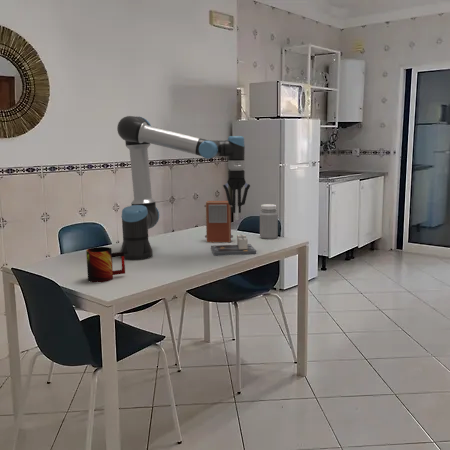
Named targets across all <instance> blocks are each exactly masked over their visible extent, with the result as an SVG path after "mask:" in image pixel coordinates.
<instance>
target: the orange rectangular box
mask: <svg viewBox="0 0 450 450" xmlns="http://www.w3.org/2000/svg"><path fill="white" fill-rule="evenodd" d="M204 208H205V224H206V225H205V226H206V227H205V228H206V229H205V230H206V231H205V233H206V234H205V235H204V238H206V243H231V242H232V238H233V237H234V235H232V221H231V220H232V219H231V218H232V217H231V216H232V215H231V214H232V205H229V203H228V200H207V201H205V204H204Z"/></svg>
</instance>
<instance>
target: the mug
mask: <svg viewBox="0 0 450 450" xmlns="http://www.w3.org/2000/svg"><path fill="white" fill-rule="evenodd" d="M112 250H113V249H112V248H111V247H108V246H97V247H91V248H90V247H89V248H87V249H86V250H85V254H86V266H87V268H86V269H87V281H88V282H89V281H90V282H89V283H94V282H101V283H106V282H110V281H112V280H114V276H116V275H117V276H118V275H125V274H126V267H125V266H126V265H125V259H124V252H119V251H118V252H113V251H112ZM120 257H121V258H120ZM113 258H120V259H121V269H117V270H116V269H115V270H113Z"/></svg>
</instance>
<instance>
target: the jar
mask: <svg viewBox="0 0 450 450" xmlns="http://www.w3.org/2000/svg"><path fill="white" fill-rule="evenodd" d="M278 215H279V213H278V212H277V205H276V204H272V203H267V204H266V203H263V204H260V213H259V236H260V238H261V239H262V238H264V239H263V240H274V239H277V238H278V235H279V232H278V229H279V226H278V225H279V224H278V223H279V221H278V220H279V219H278Z"/></svg>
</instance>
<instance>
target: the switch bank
mask: <svg viewBox="0 0 450 450" xmlns="http://www.w3.org/2000/svg"><path fill="white" fill-rule="evenodd" d="M210 250H211V252H212V254H213V256H214V257H216V256H219V257H220V256H221V257H222V256H239V255H240V256H242V255H243V256H244V255H257V250H256V249H255V247H254V246H253V245H252V244H251V243H248V249H240V250H239V248H238V245H237V244H220V245H219V244H217V245H215V244H214V245H210Z"/></svg>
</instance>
